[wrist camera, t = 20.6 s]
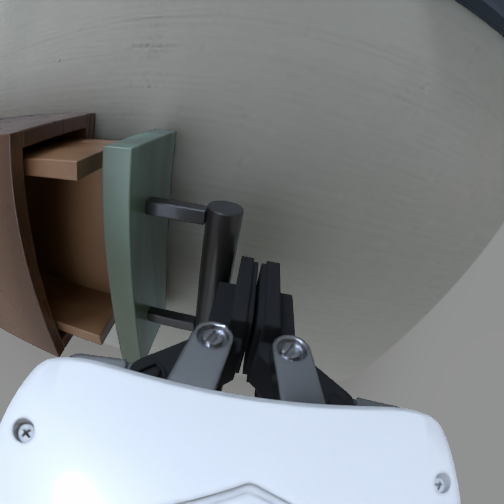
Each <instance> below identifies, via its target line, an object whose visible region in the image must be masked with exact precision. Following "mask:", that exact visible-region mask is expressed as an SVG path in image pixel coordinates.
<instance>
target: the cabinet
mask: <svg viewBox="0 0 504 504" xmlns="http://www.w3.org/2000/svg"><path fill="white" fill-rule="evenodd" d="M94 119H95V113H59V114H42V115H29V116H19V117H10V118H2V119H0V328H2V329H4V330H5V331H7V332H9V333H11V334H13V335H15V336H16V337H18V338H20V339H22V340H24V341H26V342H28V343H30V344H32V345H34V346H36V347H38V348H40V349H42V350H44V351H47V352H49V353H51V354H53V355H55V356H58V357H60V355H61V354H62V352H63V350H64V348H65V347H66V345H67V344H68V342H69V341H70V339H71V338H72V336H73V335H72V334H70V333H67V332H64V331H62V330H59V329H57V327H56V324H55V321H54V318H53V315H52V312H51V309H50V306H49V303H48V300H47V297H46V293H45V290H44V286H43V282H42V279H41V275H40V271H39V267H38V263H37V258H36V254H35V249H34V244H33V239H32V234H31V228H30V222H29V216H28V209H27V201H26V192H25V182H24V168H23V148H25V147H27V146H30V145H33V144H36V143H38V142H41V141H44V140H47V139H50V138H81V139H93V135H94Z"/></svg>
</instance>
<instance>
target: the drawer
mask: <svg viewBox="0 0 504 504" xmlns="http://www.w3.org/2000/svg"><path fill="white" fill-rule="evenodd" d="M175 139H176V131H171V130H162V129H153V130H150V131H146V132H143V133H140V134H137V135H134V136H131V137H128V138H125V139H122V140H119V141H117V140H102V139H81V138H50V139H47V140H44V141H41V142H38V143H36V144H33V145H30V146H27V147H25V148H23V168H24V182H25V192H26V201H27V209H28V216H29V222H30V228H31V234H32V239H33V244H34V249H35V254H36V258H37V263H38V267H39V271H40V275H41V279H42V282H43V286H44V290H45V293H46V297H47V300H48V303H49V306H50V309H51V312H52V315H53V318H54V321H55V324H56V327H57V329H59V330H62V331H64V332H67V333H70V334H72V335H75V336H77V337H80V338H83V339H86V340H88V341H91V342H94V343H97V344H100V345H102V344H103V342H104V340H105V339H106V337H107V335H108V333H109V332H110V330H111V328H112V326H113V325H114V323H115V324H116V329H117V334H118V339H119V344H120V349H121V354H122V358H123V359H127V362H132V363H134V362H135V361H137V360H139V359H140V358H143V357H146V356H148V353H149V351H150V349H151V346H152V344H153V341H154V339H155V337H156V334H157V332H158V330H159V327H160V325H161V324H163V325H167V326H171V327H176V328H180V329H184V330H189V331H193V330H194V328H195V327H196V326H197V325H198V324H200V323H202V322H206V321H208V320H209V316H210V312H211V308H212V305H213V301H214V297H215V294H216V290H217V286H218V283H219V281H220V282H225V283H231V277H232V272H233V266H234V261H235V255H236V250H237V244H238V239H239V233H240V228H241V223H242V217H243V208H242V207H241V206H239V205H238V204H235V203H232V202H228V201H214V202H211V203H209V204H208V206H204V205H199V204H193V203H187V202H182V201H176V200H170V188H171V177H172V166H173V157H174V148H175ZM168 218H170V219H175V220H181V221H186V222H191V223H197V224H202V225H204V224H205V231H204V239H203V248H202V257H201V266H200V276H199V286H198V297H197V309H196V316H192V315H187V314H183V313H178V312H174V311H170V310H166V259H167V234H168Z"/></svg>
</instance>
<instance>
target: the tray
mask: <svg viewBox="0 0 504 504" xmlns="http://www.w3.org/2000/svg"><path fill="white" fill-rule="evenodd" d="M456 1H457V2H459V3H460V4H462V5H463V6H465V7H466V8H468V9H469V10H471V11H472V12H473V13H475V14H476V15H478V16H479V17H480V18H482V19H483V20H484V21H486V22H487V23H488V24H489V25H491V26H492V27H493V28H494V29H496V30H497V31H498V32H499V33H500V34H502V35H503V36H504V0H456Z"/></svg>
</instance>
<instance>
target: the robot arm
mask: <svg viewBox="0 0 504 504" xmlns="http://www.w3.org/2000/svg"><path fill="white" fill-rule="evenodd" d="M257 272H258V262H254V258H250V257H245V256H242V259H241V264H240V268H239V273H238V278H237V283H236V285H235V284H230V283H225V282H220V281H219V283H218V286H217V290H216V294H215V297H214V301H213V305H212V308H211V312H210V316H209V320H208V321H206V322H202V323H200V324H198V325H197V326H196V327H195V328H194V330H193V332H192V333H191V335H190V337H189V339H188V340H186V341H184V342H181V343H179V344H176V345H174V346H171V347H169V348H166V349H164V350H161V351H159V352H156V353H154V354H151V355H148V356H146V357H143V358H140V359H139V360H137V361H135V362H134V363H132V362H127V359H119V358H110V357H102V356H95V355H87V354H74V355H72V356H70V357H59V358H52V359H48V360H45V361H43V362H42V363H40V364H39V365H38V366H36V367H35V368H34V369H33V370H32V372H31V373H30V374H29V375H28V377H27V378H26V379H25V381H24V382H23V383H22V385H21V386H20V388H19V389H18V391H17V393H16V395H15V396H14V398H13V400H12V401H11V403H10V405H9V407H8V409H7V411H6V413H5V415H4V417H3V419H2V421H1V423H0V504H461V501H460V493H459V487H458V481H457V476H456V471H455V466H454V462H453V458H452V455H451V451H450V448H449V445H448V442H447V439H446V437H445V434H444V432H443V430H442V428H441V426H440V425H439V423H438V422H437V421H436V420H435V419H433V418H432V417H430V416H428V415H426V414H424V413H421V412H418V411H415V410H410V409H406V408H400V407H397V406H393V405H388V404H384V403H379V402H374V401H370V400H366V399H362V398H357V399H356V400H355V399H352V397H351V396H350V395H349V394H348V393H347V392H346V391H345V390H344V389H342V388H341V387H340V386H339V385H337V384H336V383H335V382H334V381H333V380H332V379H330V378H329V377H328V376H327V375H326V374H324V373H323V372H322V371H321V370H320V369H319V368H317V367H316V366H315V364H314V360H313V357H312V353H311V350H310V347H309V345H308V344H307V343H306V342H305V341H304V340H302V339H301V338H299V337H296V336H295V330H294V314H293V299H292V295H288V294H282V293H280V263H275V262H270V261H267V263H266V264H263V263H262V265H261V269H260V273H259V277H258V281H257ZM256 283H257V285H256ZM244 352H245V356H244ZM243 356H244V365H243V374H247V382H249V383H250V384H251V385H252V386H253V387H254V388H255V397H250V396H244V395H238V394H232V393H226V392H221V391H222V387H223V385H224V384H226V383H228V382H230V381H231V380H233V378H234V375H235V373H239V370H240V367H241V363H242V360H243Z"/></svg>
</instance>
